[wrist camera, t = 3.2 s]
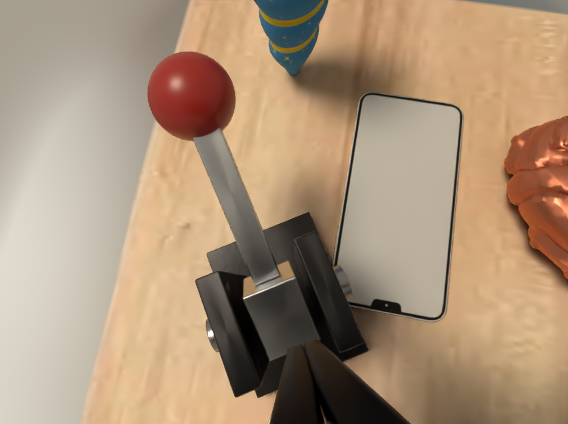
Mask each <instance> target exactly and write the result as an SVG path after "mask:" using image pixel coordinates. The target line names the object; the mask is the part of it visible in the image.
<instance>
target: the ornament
mask: <svg viewBox="0 0 568 424" xmlns="http://www.w3.org/2000/svg"><path fill="white" fill-rule="evenodd" d="M254 1H255V2H256V4H257V5H258V7H259V8H260V9H259V17H260V21H261V25H262V27H263V29H264V31H265V33H266V35H267V36H268V38H269V48H270V52H271V54H272V56H273V57H274V58H275V60H276V61H277V62H278V63H279V64H280V65H281V66H283V67H284V68H285V69H286V70H287V72H288V73H289V74H291V75H295V74H297V73H298V72H299V70H300V69H301V67H302V66H303V64H304V63H305V61H306V60H307V58H308V57H309V55H310V54H311V52H312V50H313V48H314V46H315V43H316V41H317V37H318V32H319V23H320V21H321V19H322V17H323V15H324V13H325V10H326V7H327V4H328V0H254Z"/></svg>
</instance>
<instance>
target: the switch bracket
mask: <svg viewBox="0 0 568 424" xmlns="http://www.w3.org/2000/svg"><path fill="white" fill-rule="evenodd" d="M263 232H264V234H265V237H266V239H267V241H268V244H269V246H270V249H271V251H272V254H273V256H274V259H275V261H276V264H277V265H279V264H281V263H284V262H286V261H289V262H290V264H291V266H292V268H293V270H294V273H295V275H296V277H297V280H298V282H299V285H300V287H301V290H302V292H303V294H304V297H305V299H306V302H307V304H308V307H309V309H310V312H311V314H312V317H313V319H314V322H315V324H316V327H317V329H318V332H319V334H320V337H321V339H320V340H319V341H320V342H321V343H322V344H323V345H324V346H326V347H327V348H328V349H329V350H330V351H331V352H332V353H333V354H334V355H335V356H337V357H338V358H339V359H340V360H341V361H342V362H343V361H346V360H348V359H350V358H353V357H355V356H357V355H360V354H362V353H364V352H367V351H368V348H367V346H366V343H365V341H364V338H363V336H362V334H361V331H360V329H359V327H358V324H357V322H356V320H355V317H354V315H353V313H352V310H351V308H350V306H349V303H348V301H347V298H349V297H351V296H353V292H352V288H351V285H350V283H349V280H348V278H347V276H346V274H345V272H344V270H343V268H342V267H341V266H340V265H336V266H334V267H333V266H332V264H331V262H330V259H329V257H328V255H327V252H326V250H325V248H324V245H323V243H322V241H321V238H320V236H319V234H318V232H317V230H316V227H315V225H314V223H313V220H312V218H311V216H310V213H309V212H307V213H305V214H303V215H300V216H298V217H295V218H293V219H290V220H288V221H285V222H283V223H280V224H278V225H275V226H273V227H270V228H268V229H265V230H263ZM207 257H208V260H209V263H210V266H211V268H212V271H213V273H211V274H208V275H206V276H203V277H201V278H198V279H196V280H195V283H196V285H197V288H198V291H199V294H200V297H201V300H202V303H203V306H204V309H205V312H206V315H207V318H208V319H207V320H206V330H207V335H208V338H209V341H210V343H211V345H212V347H213V349H214V350H215V351H216V352H220V355H221V358H222V361H223V364H224V367H225V370H226V373H227V376H228V379H229V382H230V385H231V387H232V390H233V393H234V396H235V397H239V396H241V395H244V394H246V393H248V392H251V391H253V390H255V392H256V395H257V397H258V398H260V397H262V396H264V395H267V394H269V393H271V392H273V391H276V390H278V387H279V383H280V378H281V374H282V370H283V366H284V362H285V358H286V355H283V356H281V357H279V358H276V359H274V360H272V361H269V360H268V357H267V355H266V353H265V350H264V348H263V346H262V343H261V341H260V339H259V336H258V334H257V332H256V329H255V327H254V325H253V322H252V320H251V318H250V315H249V313H248V311H247V308H246V306H245V304H244V302H243V280H244V279H245V278H247V277H250V276H251V275H250V273H249V270H248V268H247V266H246V263H245V261H244V259H243V256H242V254H241V252H240V249H239V247H238V244H237V242H233V243H231V244H228V245H226V246H223V247H221V248H219V249H216V250H214V251H211V252H209V253H207Z"/></svg>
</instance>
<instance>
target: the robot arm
mask: <svg viewBox="0 0 568 424" xmlns="http://www.w3.org/2000/svg"><path fill="white" fill-rule="evenodd" d="M303 346H304V347H303ZM322 412H323V413H322ZM323 415H324V416H323ZM324 418H325V420H324ZM325 421H326V424H411V423H410V422H409V421H407V420H406V419H405V418H404V417H403V416H402V415H401V414H400V413H399V412H397V411H396V410H395V409H394V408H393V407H392V406H391V405H390V404H389V403H387V402H386V401H385V400H384V399H383V398H382V397H381V396H380V395H379V394H378V393H376V392H375V391H374V390H373V389H372V388H371V387H370V386H369V385H368V384H366V383H365V382H364V381H363V380H362V379H361V378H360V377H359V376H358V375H356V374H355V373H354V372H353V371H352V370H351V369H350V368H349V367H348V366H347V365H345V364H344V363H343V362H342V361H341V360H340V359H339V358H338V357H337V356H335V355H334V354H333V353H332V352H331V351H330V350H329V349H328V348H327V347H326V346H324V345H323V344H322V343H321V342H320V341H319V340H312V341H309V342H306V343H304V345H302V344H299V345H296V346H293V347H290V348H288V350H287V354H286V358H285V362H284V366H283V370H282V374H281V378H280V383H279V387H278V391H277V395H276V399H275V403H274V407H273V411H272V415H271V419H270V423H269V424H325Z"/></svg>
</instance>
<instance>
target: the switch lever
mask: <svg viewBox="0 0 568 424" xmlns="http://www.w3.org/2000/svg"><path fill="white" fill-rule="evenodd" d="M148 102H149V106H150V109H151V111H152V114H153V115H154V117H155V119H156V120H157V122H158V123H159V124H160V125H161V126H162V127H163V128H164V129H165V130H166V131H167V132H169V133H170V134H172V135H173V136H175V137H177V138H180V139H183V140H188V141H194V143H195V145H196V147H197V150H198V152H199V154H200V157H201V159H202V161H203V164H204V166H205V169H206V171H207V173H208V176H209V178H210V180H211V183H212V185H213V188H214V190H215V192H216V195H217V197H218V199H219V202H220V204H221V207H222V209H223V211H224V214H225V216H226V218H227V221H228V223H229V225H230V228H231V230H232V233H233V235H234V237H235V240H236V242H237V244H238V247H239V249H240V252H241V254H242V256H243V259H244V261H245V263H246V266H247V268H248V270H249V273H250V275H251V276H250V277H247V278H245V279H244V280H243V302H244V304H245V306H246V308H247V311H248V313H249V315H250V318H251V320H252V322H253V325H254V327H255V329H256V332H257V334H258V336H259V339H260V341H261V343H262V346H263V348H264V350H265V353H266V355H267V357H268V360H269V361H272V360H274V359H276V358H279V357H281V356H283V355H286V354H287V350H288V348H290V347H293V346H296V345H299V344H302V345H304V343H306V342H309V341H312V340H320V339H321V337H320V334H319V332H318V329H317V327H316V324H315V322H314V319H313V317H312V314H311V312H310V309H309V307H308V304H307V302H306V299H305V297H304V294H303V292H302V290H301V287H300V285H299V282H298V280H297V277H296V275H295V273H294V270H293V268H292V266H291V264H290V262H289V261H286V262H284V263H281V264H279V265H277V264H276V261H275V259H274V256H273V254H272V251H271V249H270V246H269V244H268V241H267V239H266V237H265V234H264V232H263V229H262V227H261V224H260V222H259V219H258V217H257V214H256V212H255V210H254V207H253V205H252V202H251V200H250V197H249V195H248V192H247V190H246V187H245V185H244V183H243V180H242V178H241V175H240V173H239V170H238V168H237V165H236V163H235V160H234V158H233V156H232V153H231V151H230V148H229V146H228V143H227V141H226V138H225V136H224V134H223V130H224V129H225V128H226V126H227V125H228V124H229V122H230V120H231V118H232V116H233V113H234V109H235V102H236V97H235V90H234V86H233V83H232V81H231V79H230V77H229V75H228V74H227V72H226V71H225V69H224V68H223V67H222V66H221V65H220V64H219V63H218V62H216V61H215V60H214V59H212V58H210V57H208V56H206V55H204V54H201V53H197V52H180V53H176V54H173V55H171V56H169V57H167V58H165V59H164V60H163V61H161V62H160V63H159V64H158V66H157V67H156V68H155V70H154V71H153V73H152V75H151V78H150V80H149V85H148ZM303 347H304V346H303Z"/></svg>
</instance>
